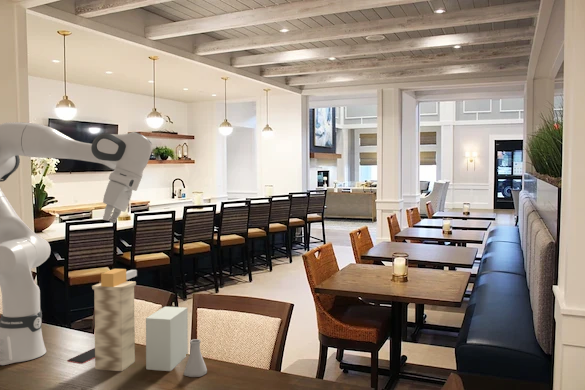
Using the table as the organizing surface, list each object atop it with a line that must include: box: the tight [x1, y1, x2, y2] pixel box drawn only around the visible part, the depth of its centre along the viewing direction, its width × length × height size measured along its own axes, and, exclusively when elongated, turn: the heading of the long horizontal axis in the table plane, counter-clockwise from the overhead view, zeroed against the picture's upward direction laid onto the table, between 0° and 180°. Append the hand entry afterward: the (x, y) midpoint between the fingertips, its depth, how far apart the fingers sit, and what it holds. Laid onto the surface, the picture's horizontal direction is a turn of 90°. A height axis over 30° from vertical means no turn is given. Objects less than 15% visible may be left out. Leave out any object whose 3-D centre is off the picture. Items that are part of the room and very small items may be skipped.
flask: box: [183, 338, 208, 378], centre depth 153 cm, size 7×7×10 cm
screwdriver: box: [100, 268, 138, 287], centre depth 162 cm, size 17×4×4 cm, turn 170°
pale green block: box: [145, 306, 189, 372], centre depth 162 cm, size 8×14×16 cm, turn 170°
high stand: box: [91, 280, 137, 372], centre depth 159 cm, size 10×8×26 cm
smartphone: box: [66, 347, 95, 365], centre depth 168 cm, size 7×1×14 cm
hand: (108, 221), depth 162 cm, fingers open, 8 cm apart
